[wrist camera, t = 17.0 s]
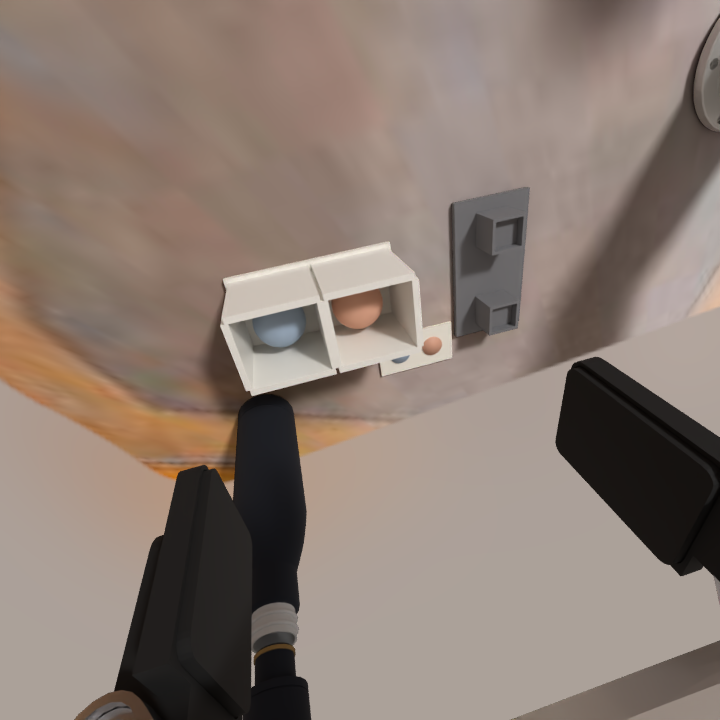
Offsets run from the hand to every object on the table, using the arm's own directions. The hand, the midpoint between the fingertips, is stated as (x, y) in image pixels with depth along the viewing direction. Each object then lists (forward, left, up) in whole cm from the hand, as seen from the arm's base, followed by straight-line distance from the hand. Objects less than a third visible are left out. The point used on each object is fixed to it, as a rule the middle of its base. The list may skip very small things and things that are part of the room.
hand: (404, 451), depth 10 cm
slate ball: (+4, +8, -30) cm, 31 cm away
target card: (-10, +17, -30) cm, 36 cm away
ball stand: (-19, +9, -30) cm, 37 cm away
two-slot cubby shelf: (0, +8, -30) cm, 31 cm away
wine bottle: (+9, +21, -31) cm, 38 cm away
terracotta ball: (-4, +8, -30) cm, 31 cm away
